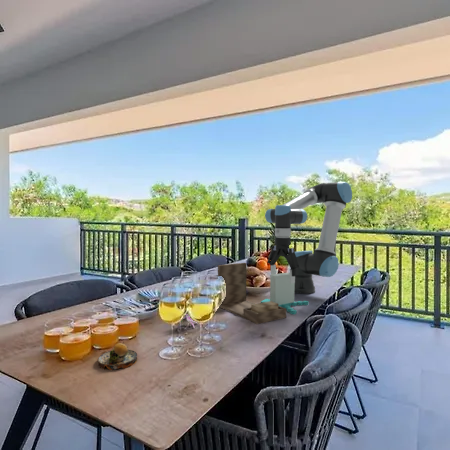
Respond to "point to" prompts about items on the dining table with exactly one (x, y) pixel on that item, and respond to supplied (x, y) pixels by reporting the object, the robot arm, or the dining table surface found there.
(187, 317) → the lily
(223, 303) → the rack
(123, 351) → the small appetizer plate
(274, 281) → the sage sheet
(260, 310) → the upper offcut
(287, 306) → the teal pixel art cutout
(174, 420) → the dining table surface
